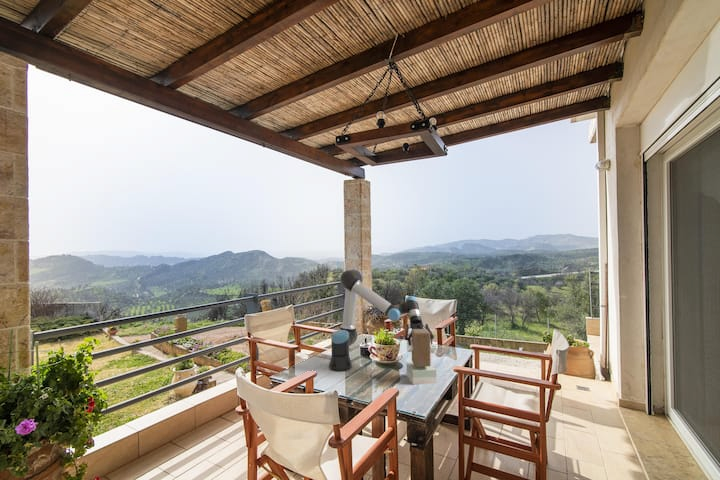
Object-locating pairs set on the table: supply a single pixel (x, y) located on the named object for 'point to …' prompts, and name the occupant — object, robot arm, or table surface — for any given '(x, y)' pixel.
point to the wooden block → (421, 347)
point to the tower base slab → (420, 379)
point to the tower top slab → (421, 371)
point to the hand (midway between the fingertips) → (421, 349)
